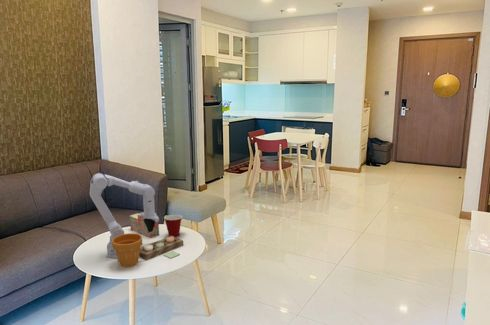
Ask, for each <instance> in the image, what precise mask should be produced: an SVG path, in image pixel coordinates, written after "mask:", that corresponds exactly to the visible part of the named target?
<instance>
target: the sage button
mask: <svg viewBox="0 0 490 325" xmlns="http://www.w3.org/2000/svg"><path fill="white" fill-rule="evenodd" d="M162 246H164V243H162V242H159V243H156V247H158V248H159V247H162Z"/></svg>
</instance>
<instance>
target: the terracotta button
mask: <svg viewBox="0 0 490 325" xmlns="http://www.w3.org/2000/svg"><path fill="white" fill-rule="evenodd" d="M165 238H166V242H167V243H172V242H174V237H169V236H167V237H165Z"/></svg>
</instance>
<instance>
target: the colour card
mask: <svg viewBox="0 0 490 325" xmlns="http://www.w3.org/2000/svg"><path fill="white" fill-rule="evenodd" d="M162 255H163V257H165V258H167V259H173V258H176V257H178V256H180V255H181V254H180V253H178V252H177V251H174V250H171V251H168V252H166V253H163V254H162Z"/></svg>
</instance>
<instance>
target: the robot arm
mask: <svg viewBox="0 0 490 325" xmlns="http://www.w3.org/2000/svg"><path fill="white" fill-rule="evenodd" d="M89 184H90V186H89V197H90V198H91V200H92V202H93V203H94V205H95V207H96V209H97V210H98V212H99V213H100V215H101V217H102V219H103V220H104V222H105V223H106V225H107V227H108V231H109V233H110V236H109V242H108V243H107V244H106V251H107V255H106V258H111V259H118V257H117V254H116V251H115V250H114V249H113V246H112V240H113V239H114V238H115V237H117V236H119V235H123V234H125V230H124V229H123V228H122V225H121V224H120V223H119V222H117V221H116V219H115V217H114V215H113V214H112V212H111V211H110V209H109V207H108V206H107V203H106V201H105V200H104V198H103V197H102V193H103V191H104V190H105V189H106V187H107V186H108V187H111V186H113V185H114V186H117V187H121V188H125V189H128V191H129V192H131V193H134V194H137V195H139V196H143V198H142V201H143V212H140V213H141V216H143V217H144V218H145V219H144V220H143V221H144V222H145V224H146V226H147V229H148V232H152V231H153V227H154V224H155V222H158V221H159V222H160V217H159V216H158V215H157V214H158V213H156V210H155V209H156V207H155V194H156V190H155V189H154V188H153V187H152V186H151V185H149V184H146V183H141V182H139V181H138V180H135V181H134V180H132V181H130V182H129V181H126V180H123V179H121V178H119V177H115V176H113V175H109V174H103V173H101V172H98V173H95V174H94V175H93V176H92V177H91V180H90V183H89ZM157 216H158V217H157Z"/></svg>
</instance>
